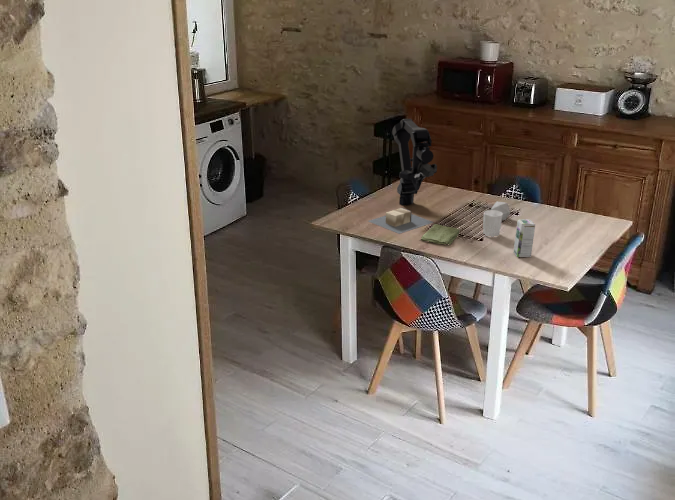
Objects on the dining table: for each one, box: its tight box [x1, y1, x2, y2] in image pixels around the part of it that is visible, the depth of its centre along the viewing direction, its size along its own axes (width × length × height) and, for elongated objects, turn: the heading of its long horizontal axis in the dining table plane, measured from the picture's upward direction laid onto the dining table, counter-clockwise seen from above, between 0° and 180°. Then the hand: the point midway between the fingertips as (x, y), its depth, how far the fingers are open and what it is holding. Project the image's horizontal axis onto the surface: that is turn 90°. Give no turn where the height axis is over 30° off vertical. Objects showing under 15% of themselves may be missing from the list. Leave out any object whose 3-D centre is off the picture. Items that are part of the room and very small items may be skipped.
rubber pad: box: [367, 213, 435, 235], centre depth 314 cm, size 22×20×1 cm
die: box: [490, 200, 511, 221], centre depth 320 cm, size 8×9×10 cm
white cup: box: [482, 209, 503, 238], centre depth 301 cm, size 8×8×10 cm
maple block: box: [385, 207, 412, 227], centre depth 312 cm, size 5×6×10 cm
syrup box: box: [513, 218, 536, 258], centre depth 280 cm, size 6×6×14 cm
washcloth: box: [420, 223, 461, 246], centre depth 300 cm, size 13×18×3 cm
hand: (417, 190), depth 321 cm, fingers closed
